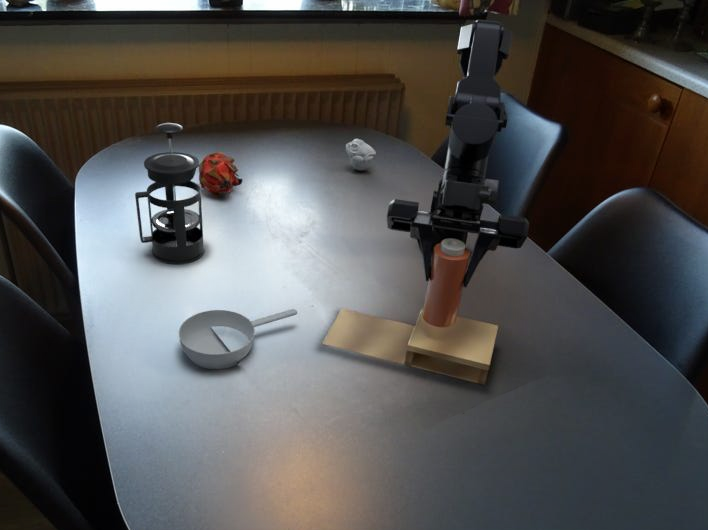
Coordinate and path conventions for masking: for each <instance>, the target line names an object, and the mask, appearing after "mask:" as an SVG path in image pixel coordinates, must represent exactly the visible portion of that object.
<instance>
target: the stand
mask: <svg viewBox="0 0 708 530" xmlns="http://www.w3.org/2000/svg"><path fill="white" fill-rule="evenodd" d="M423 309H424V307H422V308H421V310H420V312H419V316H418V317H417V320H416V323H415V325H413V324H408V323H404V322H401V321H395V320H393V319H387V318H383V317H379V316H374V315H371V314H367V313H361V312H358V311H353V310H350V309H345V308H342V309H341V310H340V311H339V313H338V315H337V317H336V318H335V321H334V322H333V324H332V326H331V327H330V328H329V331H328V332H327V334H326V336H325V337H324V339H323V341H322V345H326V346H328V347H329V346H330V347H333V348H337V349H342V350H345V351H348V352H353V353H357V354H361V355H364V356H368V357H373V358H377V359H381V360H384V361H388V362H393V363H397V364H401V365H405V366H409V367H412V368H416V369H421V370H423V371H428V372H432V373H437V374H441V375H445V376H448V377H453V378H457V379H460V380H465V381H469V382H473V383H477V384H481V385H486V381H487V377H488V374H489V370H490V367H491V361H492V356H493V352H494V349H495V343H496V339H497V333H498V329H499V325H498V324H493V323H488V322H484V321H480V320H475V319H472V318H467V317H462V316H458V315H457V319H456V322H455V324H454V325H452V326H450V327H443V328H442V327H435V326H432V325H430V324H428V323H427V322H425V320H424V319H423V316H422V315H423Z"/></svg>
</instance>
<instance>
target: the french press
mask: <svg viewBox="0 0 708 530" xmlns="http://www.w3.org/2000/svg"><path fill="white" fill-rule="evenodd" d="M155 130H156V132H158V133H162V134H166V139H167V140H168V147H169V151H167V152H160V153H156V154H153V155H150V156H148V157H147V158H145V160H144V161H143V167H144V168H145V169H146V170H147V177H148V179H149V180H151V181H152V183H151V184H150V185H149V186H148V187H147V188H146V190H145V191H136V192H135V193H134V198H135V206H136V207H135V208H136V214H137V215H136V216H137V225H138V233H139V239H140V242H141V243H142V244H146V243H151V255H152V257H153V258H154V259H155V260H157V261H158V262H161V263H163V264H167V265H185V264H189V263H193V262H196V261H198V260H200V259H202V257H203V256H204V254H205V253H206V248H205V244H204V228H203V227H204V226H203V210H202V190H201V185H200V184H198V183H197V182H195V181H192V180H193V179H194V177H195V175H196V171H197V168H199V167H198V166H199V165H200V160H199V159H198V157H196V156H195V155H192V154H189V153H185V152H179V151H173V145H172V139H173V134H176V133H179V132H181V131H182V130H183V126H182V125H180V124H178V123H175V122H174V123H172V122H166V123H161V124H158V125H156V126H155ZM176 187H182V188H184V187H185V188H189V189H190V190H191V189H192V190H194V191H195V192H197V193H196V194H195V195H193V196H191V197H188V198H184V199H178V200H177V194H176ZM163 188H164V190H165V191H164V192H165V199H162V198H161V199H160V198H157V197H154V196H152V195H151V194H152V193H153V192H155V191H156V190H160V189H163ZM142 198H143V199H144V198H147V206H148V208H147V209H148V217H149V228H150V235H146V236H143V227H142V218H141V210H140V201H139V200H140V199H142ZM196 203H197V204H198V213H197V212H196V211H193V210H191V209H187V207H190V206H192V205H195V204H196ZM151 204H152V205H153V206H156V207H158V208H164V209H163V210H160V211H159V212H157V213H155V214H154V215H153V216H152V207H151ZM198 226H199V227H198ZM171 242H175V243H176V246H169V245H165V244H167V243H171ZM187 242H188V243H190V244H187Z"/></svg>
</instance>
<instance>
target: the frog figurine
mask: <svg viewBox="0 0 708 530" xmlns="http://www.w3.org/2000/svg"><path fill="white" fill-rule="evenodd" d="M345 151H346V153H347V155H348V157H349V158H350V160H349V161H350V165H351V167H353V168H354V169H355V170H357V171H366V170H368V169H369V168H370V167H371V165H372V163H373V160H374V156H376V155H377V152H376V150H375V148H373V147H372V146H371V145H369V144H368V143H366V142H364V140H363V139H359V138H354V139H353V140H352V141H350V142H348V143H346V144H345Z"/></svg>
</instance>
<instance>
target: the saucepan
mask: <svg viewBox="0 0 708 530" xmlns="http://www.w3.org/2000/svg"><path fill="white" fill-rule="evenodd" d="M297 314H298V310H297V309H295V308H290V309H287V310H284V311H281V312H277V313H274V314H270V315H267V316H263V317H260V318H257V319H253V320H250V319H249V318H248V317H247V316H245V315H243V314H241V313H239V312H235V311H232V310H225V309H213V310H211V309H210V310H205V311H201V312H198V313H195V314H192V315H191V316H189V317H188V318H186V319H185V320H184V321H183V322H182V324H181V325H180V327H179V330H178V338H179V343H180V347H181V349H182V351H183V352H184V353H185V355H186V356H187V357H188V358H189V359H190V361H192V362H193V363H194V364H195V365H197V366H199V367H201V368H205V369H209V370H210V369H211V370H222V369H228V368H231V367H235V366H237V365H238V364H239V363H240V361H241V360H242V359H244V358H245V357H247V355H248V354H249V353H250V351H251V349H252V348H253V345H254V342H255V333H256V329H255V328H257V327H260V326H263V325H266V324H271V323H273V322H276V321H281V320H283V319H287V318H290V317H293V316H296V315H297ZM213 327H215V328H216V327H224V328H231V329H234V330H237V331H239V332H241V333H242V334H243V335H245V337H247V339H248V343H246V344H245V345H244V346H242V347H240V348H238V349H236V350H232V351H231V350H230V349H229V348H228V346H227V344H225V342H224V341H223V339H221V338H220V336H219V335H218V334H217V332H216V331H215V330H214V329H213Z"/></svg>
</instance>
